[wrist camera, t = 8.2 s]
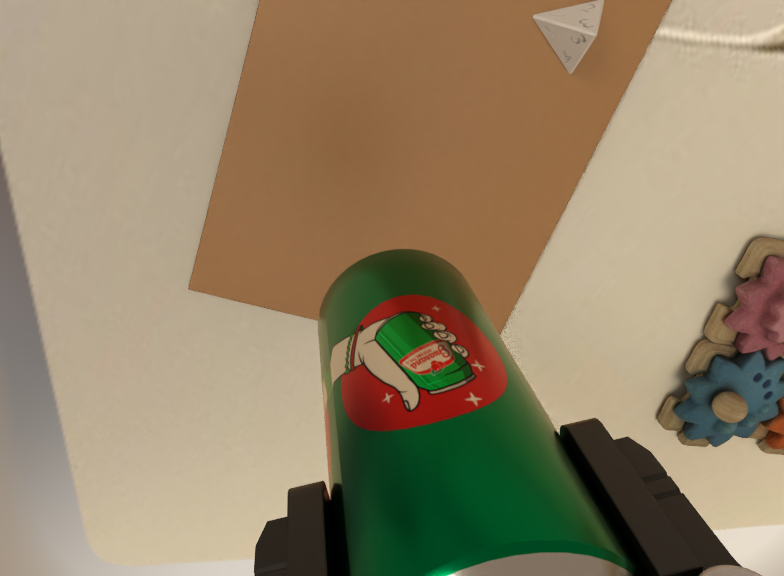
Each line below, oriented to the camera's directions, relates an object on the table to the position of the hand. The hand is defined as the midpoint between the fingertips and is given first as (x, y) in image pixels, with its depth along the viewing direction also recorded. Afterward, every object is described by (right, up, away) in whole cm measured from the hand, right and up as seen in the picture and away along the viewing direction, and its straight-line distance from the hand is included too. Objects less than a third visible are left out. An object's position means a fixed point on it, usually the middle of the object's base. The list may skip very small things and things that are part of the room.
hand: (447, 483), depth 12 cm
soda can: (-1, +3, +7) cm, 8 cm away
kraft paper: (0, +11, +17) cm, 20 cm away
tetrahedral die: (+7, +16, +15) cm, 23 cm away
